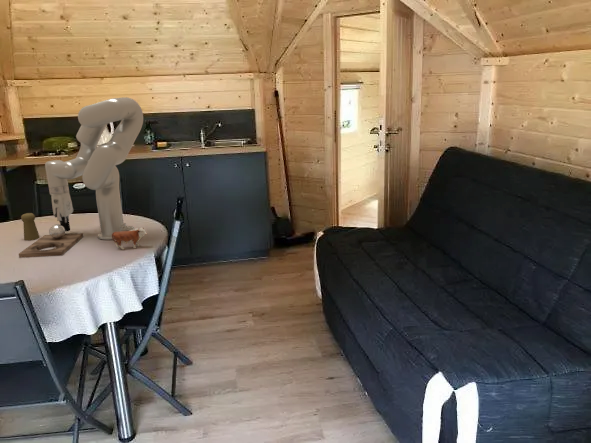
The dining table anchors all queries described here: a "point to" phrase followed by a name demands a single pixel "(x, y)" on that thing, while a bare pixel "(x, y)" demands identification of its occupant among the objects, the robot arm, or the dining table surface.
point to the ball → (57, 231)
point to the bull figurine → (128, 237)
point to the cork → (29, 227)
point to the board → (51, 245)
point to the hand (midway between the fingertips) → (65, 230)
